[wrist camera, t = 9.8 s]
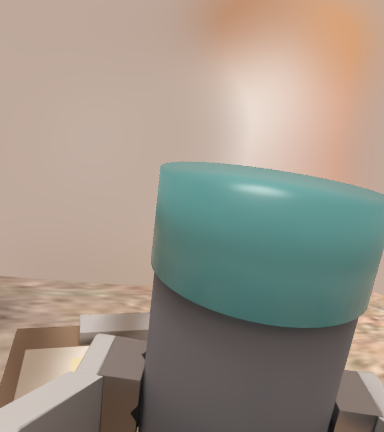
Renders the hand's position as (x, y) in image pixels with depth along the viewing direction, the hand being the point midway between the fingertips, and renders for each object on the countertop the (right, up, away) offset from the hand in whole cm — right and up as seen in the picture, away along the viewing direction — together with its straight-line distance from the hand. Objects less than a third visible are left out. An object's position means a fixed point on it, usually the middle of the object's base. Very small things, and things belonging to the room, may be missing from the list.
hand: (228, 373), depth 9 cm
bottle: (-1, -7, +1) cm, 7 cm away
